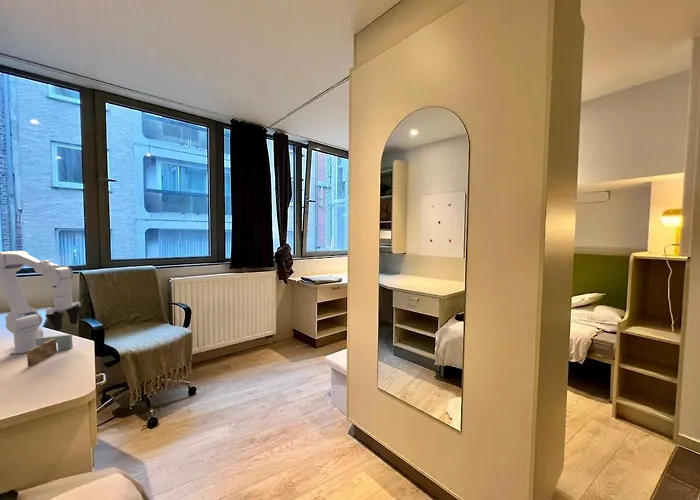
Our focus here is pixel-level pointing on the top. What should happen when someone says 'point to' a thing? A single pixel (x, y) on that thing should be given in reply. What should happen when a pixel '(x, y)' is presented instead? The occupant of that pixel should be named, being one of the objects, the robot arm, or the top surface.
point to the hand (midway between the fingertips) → (66, 326)
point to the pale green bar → (57, 341)
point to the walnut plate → (41, 352)
